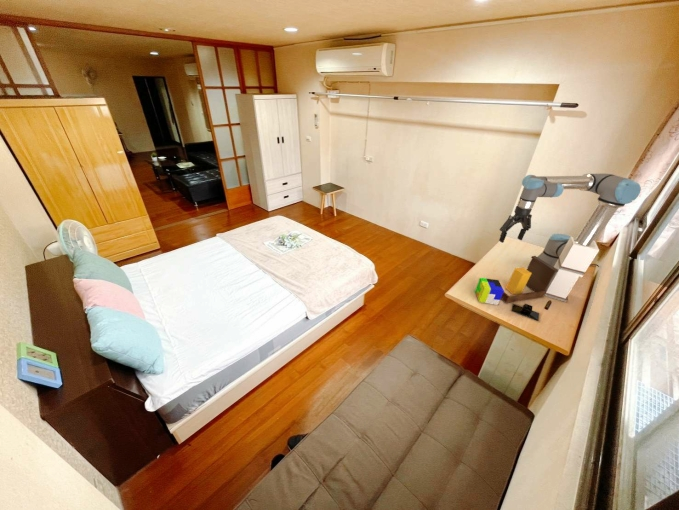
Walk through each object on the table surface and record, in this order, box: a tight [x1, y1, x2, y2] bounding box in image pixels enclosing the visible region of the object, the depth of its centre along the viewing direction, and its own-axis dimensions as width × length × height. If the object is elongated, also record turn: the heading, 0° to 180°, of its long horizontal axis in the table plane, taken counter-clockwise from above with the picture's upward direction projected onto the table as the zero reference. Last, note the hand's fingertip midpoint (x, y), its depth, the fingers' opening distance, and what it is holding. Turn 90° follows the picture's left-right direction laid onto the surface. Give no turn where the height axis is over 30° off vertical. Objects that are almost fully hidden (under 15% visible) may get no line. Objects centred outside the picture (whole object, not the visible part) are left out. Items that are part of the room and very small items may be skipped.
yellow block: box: [505, 267, 532, 295], centre depth 155 cm, size 6×6×15 cm
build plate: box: [511, 303, 540, 322], centre depth 143 cm, size 12×7×5 cm, turn 54°
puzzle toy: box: [474, 277, 505, 306], centre depth 151 cm, size 10×10×10 cm
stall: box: [500, 255, 559, 304], centre depth 154 cm, size 27×16×19 cm, turn 103°
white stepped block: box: [544, 235, 600, 303], centre depth 149 cm, size 11×11×35 cm
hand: (510, 240), depth 158 cm, fingers open, 13 cm apart
